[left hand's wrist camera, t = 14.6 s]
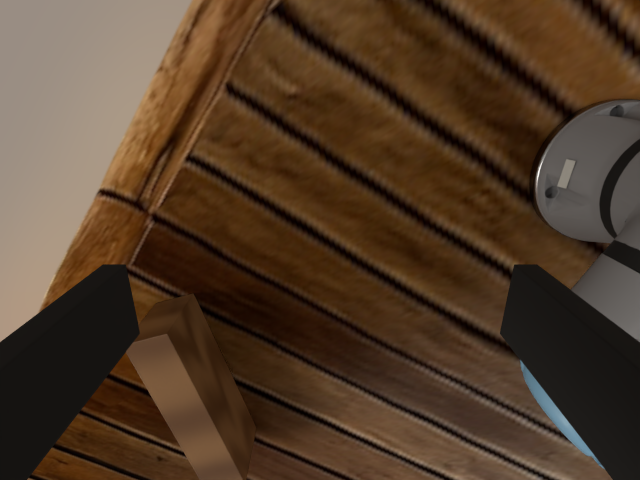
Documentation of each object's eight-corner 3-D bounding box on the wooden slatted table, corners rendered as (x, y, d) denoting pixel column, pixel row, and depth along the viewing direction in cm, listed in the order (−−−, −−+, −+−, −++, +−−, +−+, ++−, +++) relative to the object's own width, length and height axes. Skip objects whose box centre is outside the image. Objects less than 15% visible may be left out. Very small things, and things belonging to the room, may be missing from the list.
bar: (155, 303, 47) (121, 345, 39) (193, 293, 47) (166, 333, 38) (223, 434, 55) (207, 492, 47) (256, 427, 55) (245, 484, 47)
